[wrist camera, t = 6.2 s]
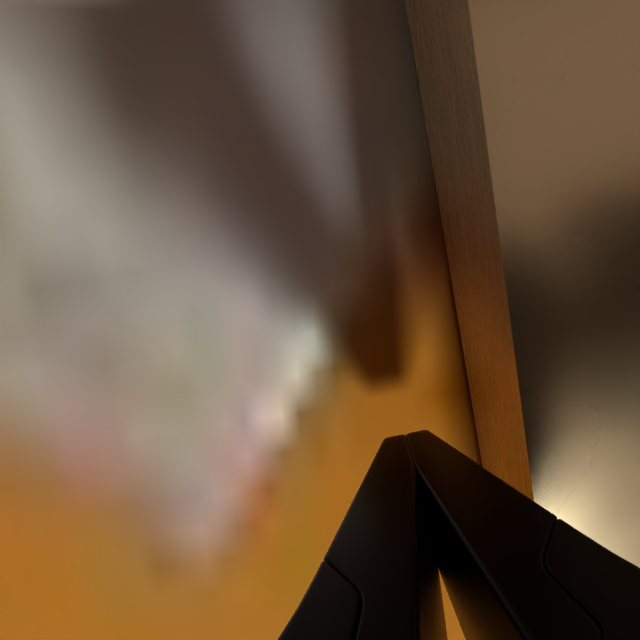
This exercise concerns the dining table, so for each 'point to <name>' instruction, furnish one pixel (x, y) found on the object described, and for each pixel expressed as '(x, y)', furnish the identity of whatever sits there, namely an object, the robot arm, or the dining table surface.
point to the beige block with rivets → (544, 241)
